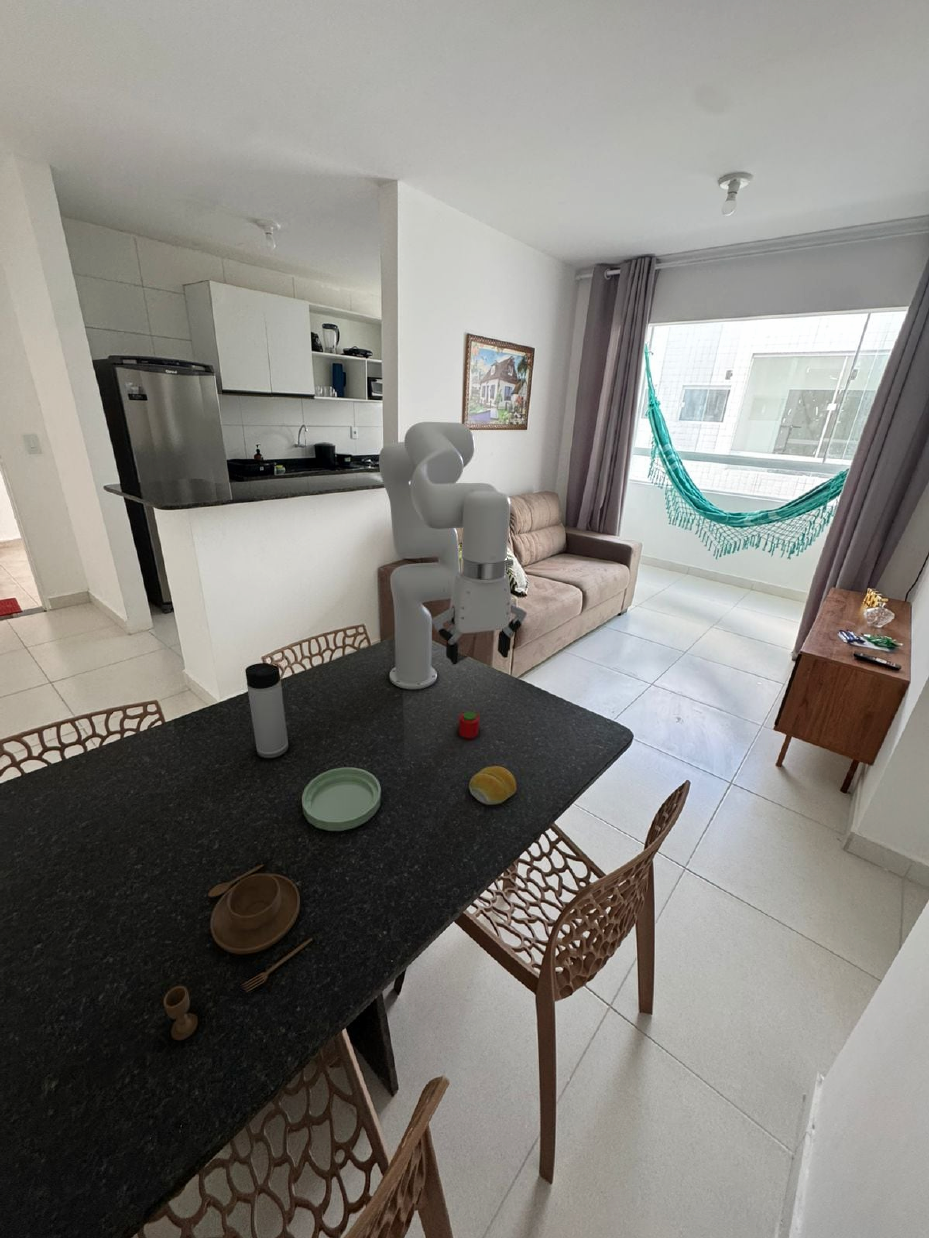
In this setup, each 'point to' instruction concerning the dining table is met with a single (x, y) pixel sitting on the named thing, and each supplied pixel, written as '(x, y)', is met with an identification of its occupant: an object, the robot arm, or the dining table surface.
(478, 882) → the dining table surface
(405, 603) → the robot arm
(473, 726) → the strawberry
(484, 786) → the bread roll
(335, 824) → the dish
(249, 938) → the place setting
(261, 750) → the travel mug
